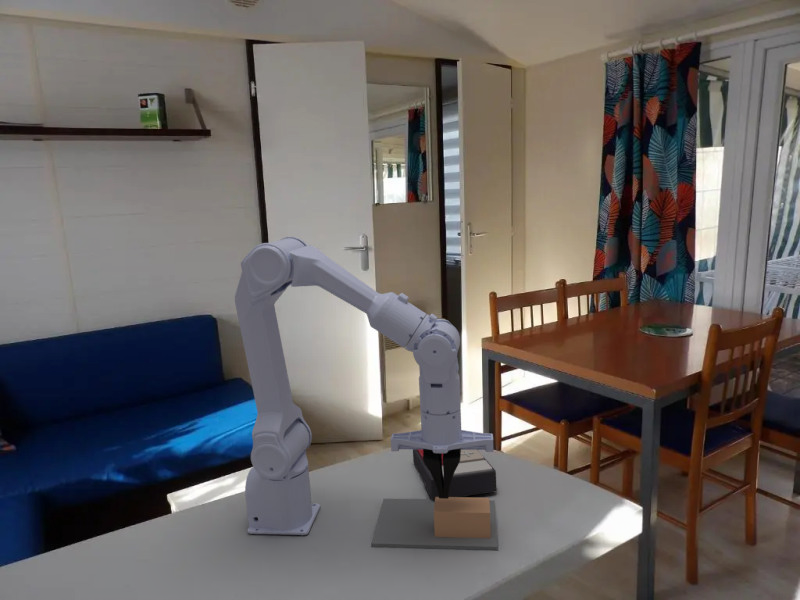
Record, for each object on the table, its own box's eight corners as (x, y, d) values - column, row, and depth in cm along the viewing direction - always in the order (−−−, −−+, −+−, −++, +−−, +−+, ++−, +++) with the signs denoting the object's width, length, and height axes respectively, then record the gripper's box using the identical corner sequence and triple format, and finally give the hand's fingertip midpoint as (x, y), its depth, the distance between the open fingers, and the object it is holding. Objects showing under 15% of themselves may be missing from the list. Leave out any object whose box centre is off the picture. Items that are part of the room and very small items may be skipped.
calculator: (468, 435, 109) (496, 466, 94) (469, 457, 109) (497, 491, 95) (411, 442, 107) (431, 475, 92) (413, 465, 107) (432, 501, 93)
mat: (371, 546, 83) (371, 543, 83) (383, 501, 95) (383, 498, 95) (498, 550, 81) (497, 546, 81) (494, 503, 92) (494, 500, 92)
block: (433, 511, 83) (490, 512, 82) (435, 496, 87) (489, 497, 86) (434, 536, 84) (490, 538, 83) (436, 520, 88) (489, 522, 87)
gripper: (385, 418, 79) (391, 509, 81) (493, 418, 77) (495, 511, 80) (392, 399, 86) (397, 483, 88) (491, 399, 84) (493, 484, 86)
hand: (444, 494), depth 84 cm, fingers closed
